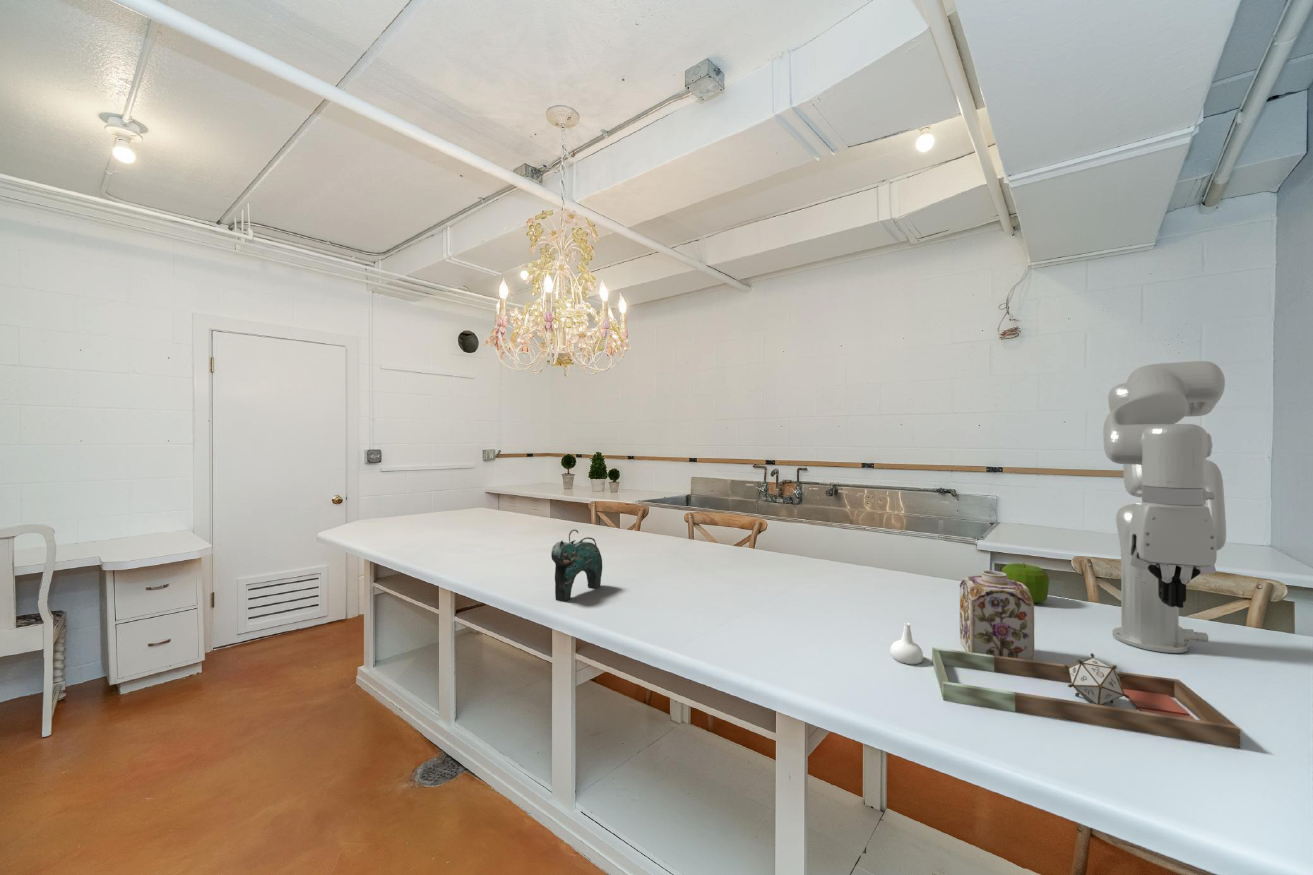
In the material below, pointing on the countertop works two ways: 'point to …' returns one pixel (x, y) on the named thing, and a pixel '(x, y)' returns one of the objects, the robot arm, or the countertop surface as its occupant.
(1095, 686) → the game die
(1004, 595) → the decorative jar
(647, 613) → the countertop surface
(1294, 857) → the countertop surface
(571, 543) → the teal animal figurine
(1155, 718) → the rectangular wooden frame
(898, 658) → the garlic bulb
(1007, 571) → the apple
